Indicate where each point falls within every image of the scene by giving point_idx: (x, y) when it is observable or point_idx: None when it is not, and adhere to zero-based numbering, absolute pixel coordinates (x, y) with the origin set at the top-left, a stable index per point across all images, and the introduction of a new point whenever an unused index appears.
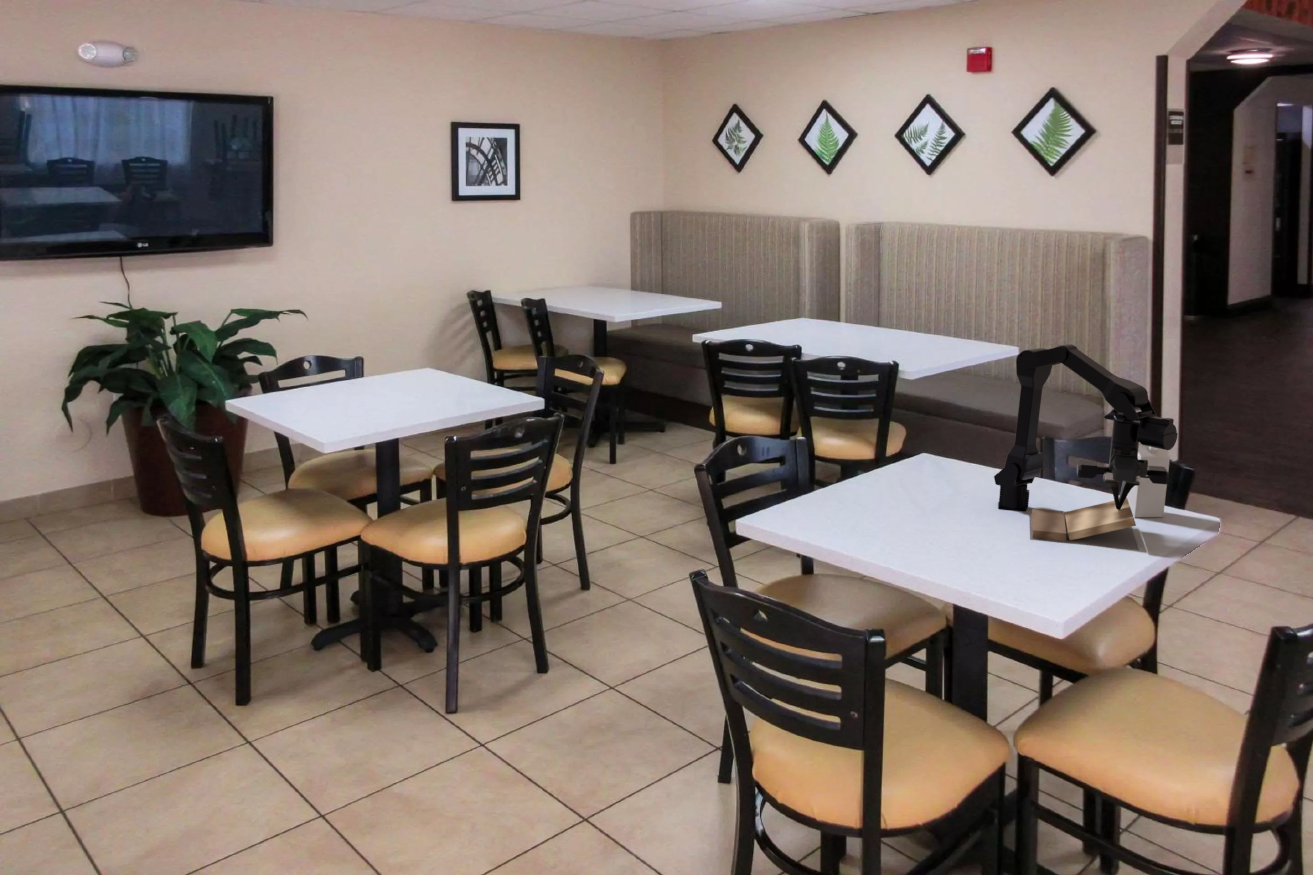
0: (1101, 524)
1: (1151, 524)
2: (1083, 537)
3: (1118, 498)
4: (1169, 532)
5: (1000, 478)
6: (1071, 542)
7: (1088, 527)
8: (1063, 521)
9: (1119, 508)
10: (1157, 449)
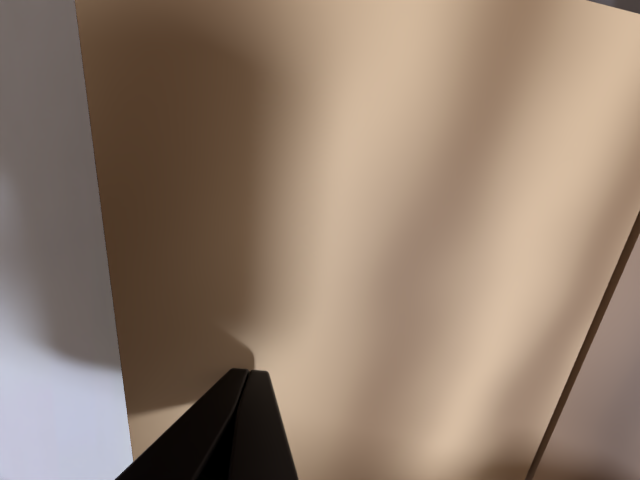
0: (480, 6)
1: (93, 475)
2: None
3: (234, 466)
4: (6, 387)
5: None
6: (632, 10)
7: (584, 24)
8: (604, 331)
9: (238, 372)
10: None
